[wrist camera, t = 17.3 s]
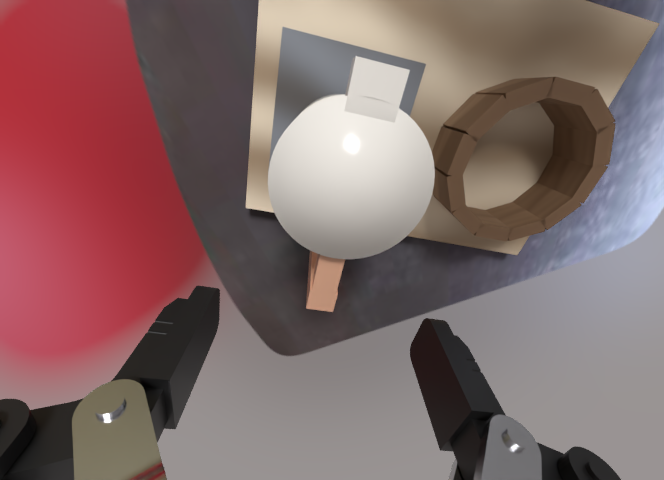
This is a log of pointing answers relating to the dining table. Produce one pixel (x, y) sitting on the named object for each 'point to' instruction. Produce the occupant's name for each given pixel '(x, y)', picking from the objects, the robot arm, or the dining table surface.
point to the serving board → (462, 98)
